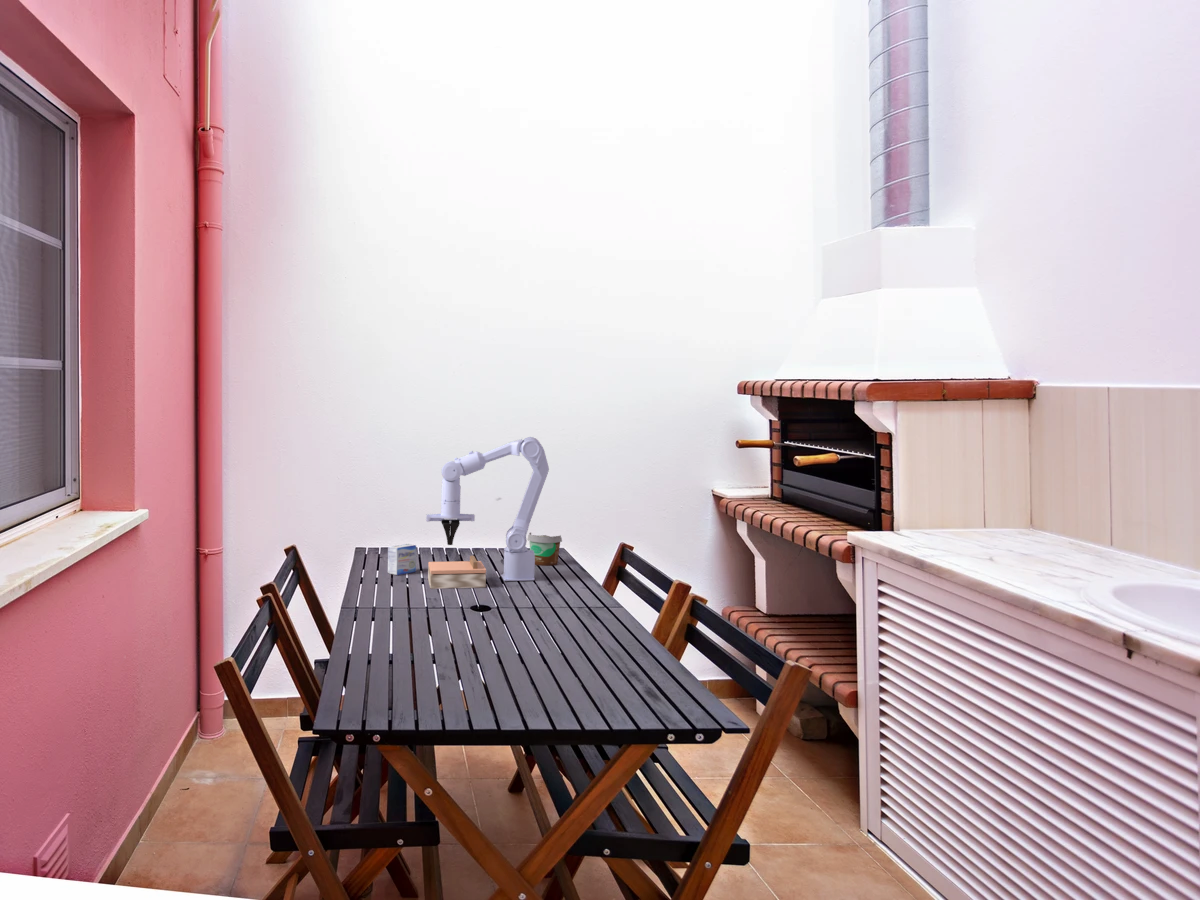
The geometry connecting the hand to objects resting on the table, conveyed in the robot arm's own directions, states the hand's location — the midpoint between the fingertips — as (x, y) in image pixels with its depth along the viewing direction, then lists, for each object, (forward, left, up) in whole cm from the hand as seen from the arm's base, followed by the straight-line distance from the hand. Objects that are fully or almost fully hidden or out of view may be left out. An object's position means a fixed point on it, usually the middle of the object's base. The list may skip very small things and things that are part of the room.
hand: (449, 544), depth 270 cm
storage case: (-2, +8, -10) cm, 13 cm away
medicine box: (+14, -9, -11) cm, 20 cm away
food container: (-32, -18, -11) cm, 38 cm away
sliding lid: (-2, +7, -6) cm, 10 cm away
